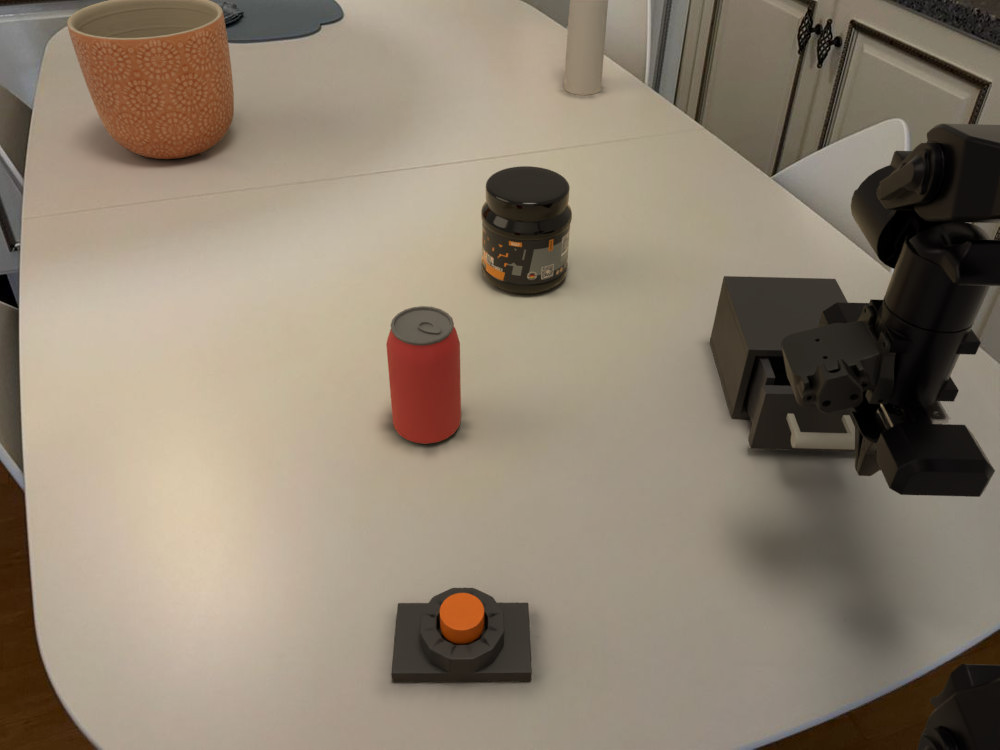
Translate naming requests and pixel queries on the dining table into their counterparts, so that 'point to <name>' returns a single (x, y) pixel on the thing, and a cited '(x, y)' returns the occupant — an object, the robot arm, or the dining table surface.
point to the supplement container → (525, 229)
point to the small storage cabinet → (762, 324)
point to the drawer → (791, 414)
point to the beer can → (424, 374)
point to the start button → (462, 618)
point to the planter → (157, 73)
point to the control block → (482, 660)
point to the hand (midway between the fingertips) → (862, 472)
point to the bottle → (585, 46)
